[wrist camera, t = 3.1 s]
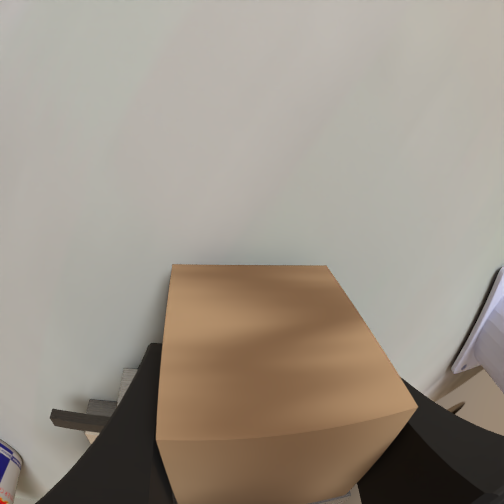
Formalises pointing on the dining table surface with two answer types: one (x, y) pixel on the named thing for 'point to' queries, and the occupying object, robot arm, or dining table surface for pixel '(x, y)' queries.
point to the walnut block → (271, 387)
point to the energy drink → (8, 473)
